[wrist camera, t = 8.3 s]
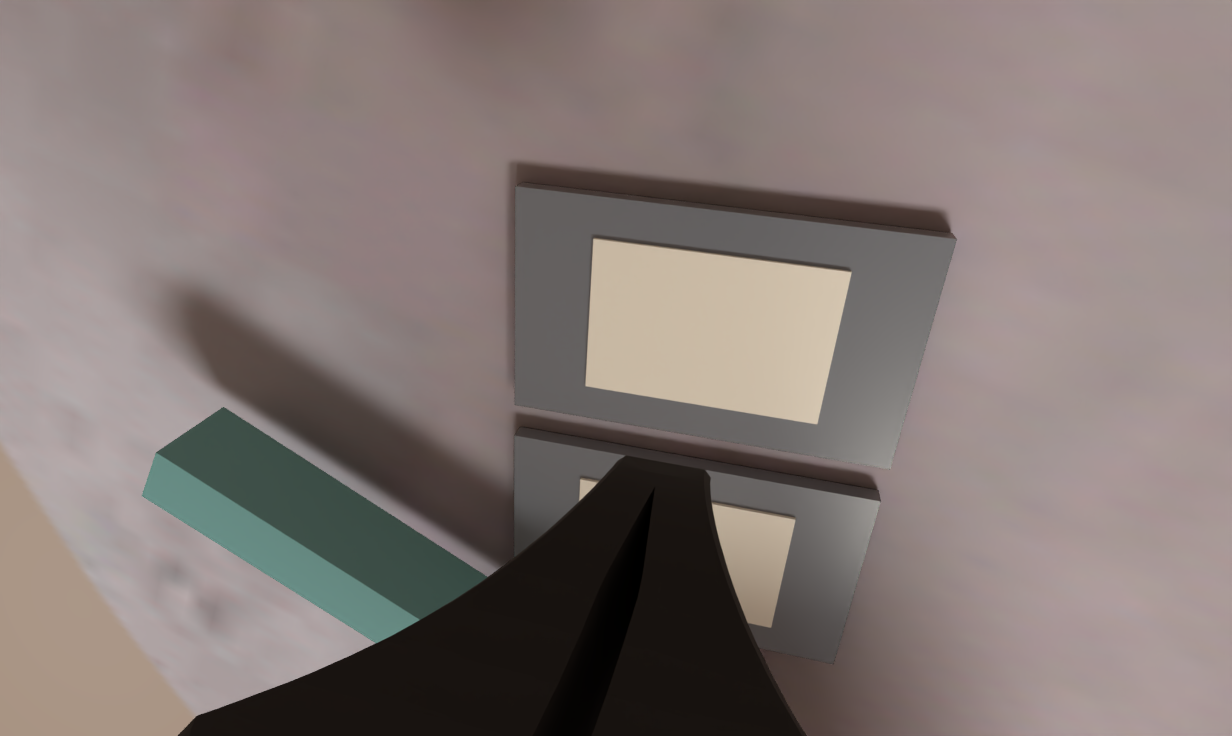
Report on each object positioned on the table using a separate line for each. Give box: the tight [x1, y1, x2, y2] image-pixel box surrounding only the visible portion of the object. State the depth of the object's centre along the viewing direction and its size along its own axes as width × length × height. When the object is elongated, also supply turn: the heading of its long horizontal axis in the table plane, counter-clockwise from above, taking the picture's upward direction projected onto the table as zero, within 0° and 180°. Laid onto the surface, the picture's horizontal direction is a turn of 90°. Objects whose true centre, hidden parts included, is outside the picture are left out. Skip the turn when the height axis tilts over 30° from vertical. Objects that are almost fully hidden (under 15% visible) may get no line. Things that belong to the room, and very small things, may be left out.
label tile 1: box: [515, 182, 957, 470], centre depth 18 cm, size 6×10×1 cm, turn 86°
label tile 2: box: [514, 427, 881, 664], centre depth 21 cm, size 6×10×1 cm, turn 86°
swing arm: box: [142, 407, 487, 643], centre depth 20 cm, size 19×4×4 cm, turn 58°
